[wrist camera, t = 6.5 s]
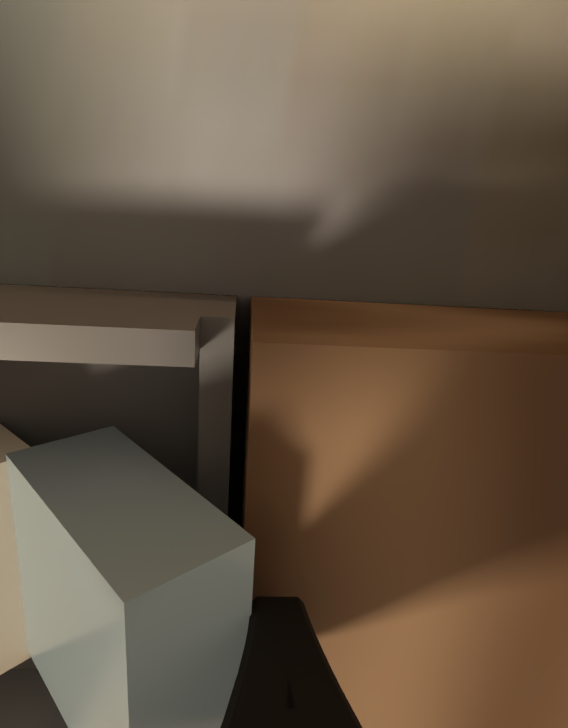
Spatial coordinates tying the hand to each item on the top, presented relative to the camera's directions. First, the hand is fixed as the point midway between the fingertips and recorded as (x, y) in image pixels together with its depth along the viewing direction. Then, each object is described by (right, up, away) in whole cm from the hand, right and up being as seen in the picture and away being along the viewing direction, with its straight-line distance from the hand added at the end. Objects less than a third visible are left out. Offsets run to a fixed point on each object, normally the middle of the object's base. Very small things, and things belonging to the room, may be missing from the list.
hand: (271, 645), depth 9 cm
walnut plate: (+5, +1, +4) cm, 7 cm away
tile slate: (-2, +1, +1) cm, 2 cm away
